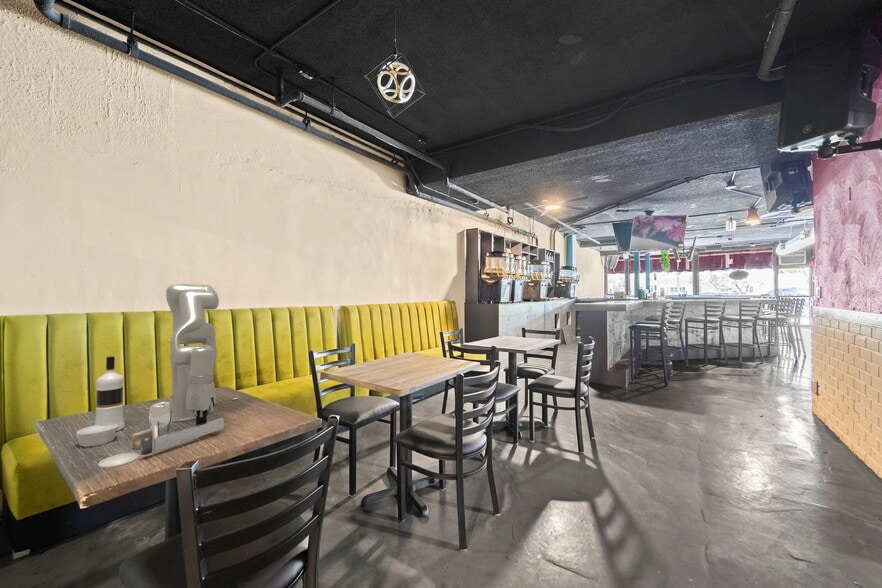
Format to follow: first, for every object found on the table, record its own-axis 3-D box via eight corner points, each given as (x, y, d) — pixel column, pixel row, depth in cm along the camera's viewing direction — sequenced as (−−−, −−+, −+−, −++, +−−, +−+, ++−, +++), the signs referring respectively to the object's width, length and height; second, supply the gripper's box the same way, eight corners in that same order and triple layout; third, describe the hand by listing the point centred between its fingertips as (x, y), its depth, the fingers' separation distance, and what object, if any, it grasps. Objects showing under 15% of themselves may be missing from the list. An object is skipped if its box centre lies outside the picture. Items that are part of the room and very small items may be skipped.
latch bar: (138, 454, 121) (139, 439, 121) (219, 427, 145) (219, 415, 146) (143, 455, 119) (144, 440, 119) (224, 428, 144) (224, 416, 144)
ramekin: (124, 435, 141) (125, 422, 141) (103, 447, 130) (103, 432, 130) (92, 437, 139) (92, 424, 139) (67, 449, 128) (67, 434, 128)
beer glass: (157, 442, 134) (157, 401, 135) (177, 441, 135) (177, 401, 135) (143, 449, 127) (144, 407, 128) (164, 449, 128) (164, 406, 128)
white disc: (90, 465, 115) (90, 464, 115) (124, 453, 125) (124, 451, 125) (114, 469, 113) (114, 467, 113) (146, 456, 123) (146, 454, 123)
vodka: (87, 435, 140) (88, 358, 141) (103, 427, 149) (104, 355, 150) (116, 433, 143) (117, 357, 143) (129, 425, 152) (130, 354, 152)
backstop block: (132, 448, 129) (132, 434, 129) (157, 439, 137) (157, 425, 137) (138, 449, 128) (139, 435, 128) (163, 439, 137) (163, 426, 137)
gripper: (177, 380, 139) (176, 428, 138) (209, 382, 135) (208, 431, 135) (195, 376, 146) (194, 421, 146) (225, 378, 142) (225, 425, 142)
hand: (201, 426), depth 140 cm, fingers closed
